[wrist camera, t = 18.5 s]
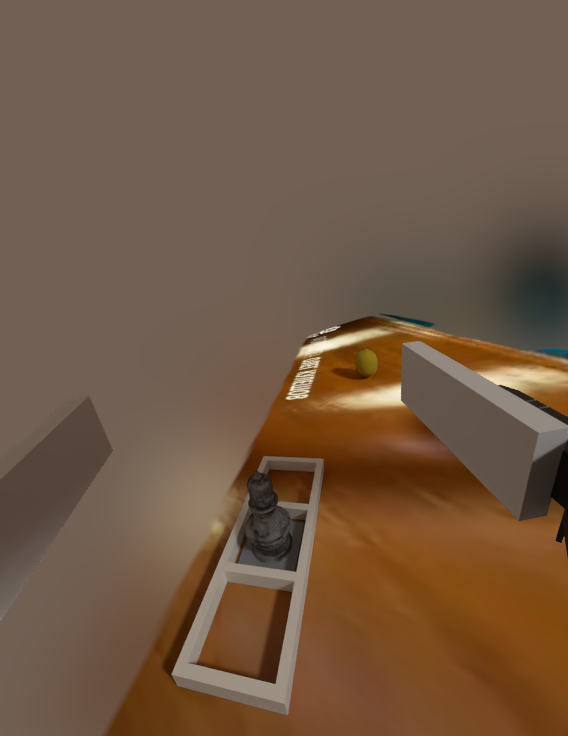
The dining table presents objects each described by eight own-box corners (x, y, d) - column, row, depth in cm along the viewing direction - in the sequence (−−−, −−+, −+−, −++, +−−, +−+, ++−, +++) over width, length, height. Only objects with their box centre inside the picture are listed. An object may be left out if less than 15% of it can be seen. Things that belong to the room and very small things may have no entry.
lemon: (374, 383, 76) (374, 353, 73) (353, 381, 79) (351, 352, 76) (380, 374, 80) (379, 345, 77) (359, 372, 83) (358, 344, 80)
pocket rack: (265, 465, 54) (263, 456, 53) (324, 468, 51) (323, 458, 50) (177, 685, 28) (171, 674, 27) (287, 715, 25) (284, 703, 24)
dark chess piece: (287, 570, 36) (272, 494, 31) (242, 560, 38) (221, 487, 33) (299, 527, 41) (288, 456, 36) (259, 520, 43) (243, 451, 38)
